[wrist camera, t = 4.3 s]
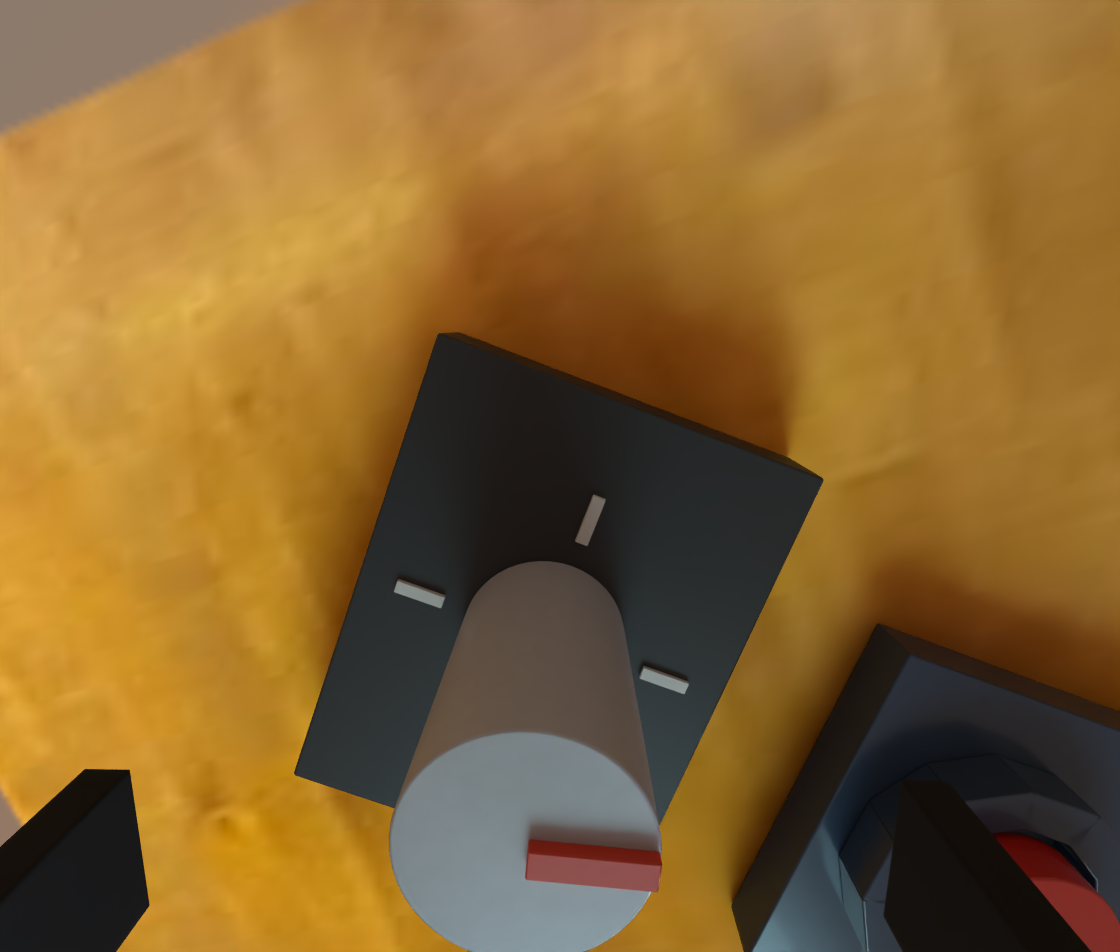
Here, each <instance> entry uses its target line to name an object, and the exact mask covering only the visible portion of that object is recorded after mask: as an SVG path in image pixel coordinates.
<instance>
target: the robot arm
mask: <svg viewBox="0 0 1120 952" xmlns="http://www.w3.org/2000/svg"><path fill="white" fill-rule="evenodd" d="M148 907H149V899H148V892H147V885H146V878H145V871H144V865H143V858H142V851H141V844H140V837H139V830H138V824H137V817H136V810H135V803H134V796H133V789H132V783H131V776H130V770H105V769H85V770H83V771H82V772H81V773H80V774H79V775H78V776H77V777H76V778H75V779H74V780H73V781H71V782H70V783H69V784H68V785H67V786H66V787H65V788H64V789H63V790H62V791H61V792H59V793H58V794H57V795H56V796H55V797H54V798H53V799H52V800H51V801H50V802H49V803H47V804H46V805H45V806H44V807H43V808H42V809H41V810H40V811H39V812H38V813H37V814H36V815H34V816H33V817H32V818H31V819H30V820H29V821H28V822H27V823H26V824H25V825H24V826H22V827H21V828H20V829H19V830H18V831H17V832H16V833H15V834H14V835H13V836H12V837H11V838H10V839H8V840H7V841H6V842H5V843H4V844H3V845H2V846H1V847H0V952H116V951H117V950H118V948H119V947H120V946H121V944H122V943H123V941H124V940H125V939H126V937H127V936H128V935H129V933H130V932H131V930H132V929H133V928H134V926H135V925H136V923H137V922H138V921H139V919H140V918H141V916H142V915H143V914H144V912H145V911H146V910H147V908H148ZM883 916H884V918H885V920H886V922H887V924H888V926H889V928H890V929H891V931H892V933H893V935H894V937H895V939H896V940H897V942H898V944H899V946H900V948H901V950H902V952H1092V951H1091V950H1090V949H1089V948H1088V947H1087V946H1086V944H1085V943H1084V942H1083V941H1082V940H1081V938H1080V937H1079V936H1078V935H1077V934H1076V933H1075V931H1074V930H1073V929H1072V928H1071V927H1070V925H1069V924H1068V923H1067V922H1066V921H1065V920H1064V918H1063V917H1062V916H1061V915H1060V914H1059V912H1058V911H1057V910H1056V909H1055V908H1054V907H1053V905H1052V904H1051V903H1050V902H1049V901H1048V899H1047V898H1046V897H1045V896H1044V895H1043V894H1042V892H1041V891H1040V890H1039V889H1038V888H1037V886H1036V885H1035V884H1034V883H1033V882H1032V881H1031V879H1030V878H1029V877H1028V876H1027V875H1026V873H1025V872H1024V871H1023V870H1022V869H1021V868H1020V866H1019V865H1018V864H1017V863H1016V862H1015V860H1014V859H1013V858H1012V857H1011V856H1010V855H1009V853H1008V852H1007V851H1006V850H1005V849H1004V847H1003V846H1002V845H1001V844H1000V843H999V842H998V840H997V839H996V838H995V837H994V836H993V834H992V833H991V832H990V831H989V830H988V829H987V827H986V826H985V825H984V824H983V823H982V821H981V820H980V819H979V818H978V817H977V815H976V814H975V813H974V812H973V811H972V810H971V808H970V807H969V806H968V805H967V804H966V802H965V801H964V800H963V799H962V798H961V797H960V795H959V794H958V793H957V792H956V791H955V789H954V788H953V787H952V786H951V785H950V784H949V782H948V781H920V780H902V783H901V790H900V798H899V805H898V812H897V820H896V827H895V834H894V841H893V849H892V856H891V863H890V871H889V878H888V885H887V892H886V900H885V907H884V914H883Z"/></svg>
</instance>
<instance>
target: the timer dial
mask: <svg viewBox="0 0 1120 952" xmlns="http://www.w3.org/2000/svg"><path fill="white" fill-rule="evenodd" d="M389 852H390V858H391V863H392V869H393V872H394V874H395V877H396V880H397V883H398V885H399V887H400V889H401V891H402V893H403V895H404V897H405V899H406V900H407V901H408V903H409V904H410V906H411V907H412V909H413V910H414V911H415V912H416V913H417V915H418V916H419V917H420V918H421V919H422V920H423V921H424V922H425V923H426V924H427V925H428V926H430V927H431V928H432V929H433V930H434V931H435V932H437V933H438V934H440V935H441V936H443V937H444V938H446V939H447V940H449V941H450V942H452V943H454V944H456V945H458V946H460V947H462V948H464V949H466V950H468V951H471V952H585V951H587V950H590V949H592V948H595V947H596V946H598V945H600V944H602V943H603V942H605V941H607V940H609V939H610V938H611V937H613V936H614V935H615V934H617V933H618V932H619V931H621V930H622V929H623V928H624V927H625V926H626V925H627V924H628V923H629V922H630V921H631V920H632V919H633V918H634V917H635V916H636V915H637V913H638V912H639V911H640V909H641V908H642V907H643V905H644V904H645V902H646V900H647V898H648V897H649V895H650V893H651V892H658V889H659V882H660V876H661V869H662V861H661V834H660V827H659V821H658V816H657V810H656V805H655V799H654V793H653V788H652V782H651V777H650V771H649V765H648V760H647V754H646V749H645V743H644V737H643V732H642V726H641V721H640V715H639V709H638V704H637V698H636V693H635V687H634V681H633V676H632V670H631V665H630V659H629V653H628V648H627V642H626V637H625V631H624V626H623V621H622V617H621V614H620V612H619V609H618V607H617V605H616V603H615V601H614V599H613V598H612V596H611V595H610V594H609V592H608V591H607V590H606V589H605V588H604V587H603V586H602V585H601V584H600V583H599V582H598V581H597V580H596V579H594V578H593V577H592V576H590V575H589V574H587V573H585V572H584V571H582V570H580V569H577V568H575V567H573V566H570V565H566V564H563V563H557V562H551V561H535V562H527V563H523V564H518V565H515V566H513V567H510V568H507V569H505V570H503V571H502V572H500V573H498V574H497V575H495V576H494V577H492V578H491V579H490V580H488V581H487V582H486V583H485V584H484V585H483V586H482V587H481V588H480V589H479V591H478V592H477V593H476V594H475V596H474V598H473V599H472V601H471V603H470V605H469V607H468V609H467V612H466V614H465V617H464V620H463V623H462V625H461V628H460V631H459V633H458V636H457V639H456V642H455V644H454V647H453V650H452V653H451V655H450V658H449V661H448V663H447V666H446V669H445V672H444V674H443V677H442V680H441V683H440V685H439V688H438V691H437V694H436V696H435V699H434V702H433V704H432V707H431V710H430V713H429V715H428V718H427V721H426V724H425V726H424V729H423V732H422V734H421V737H420V740H419V743H418V745H417V748H416V751H415V754H414V756H413V759H412V762H411V765H410V767H409V770H408V773H407V775H406V778H405V781H404V784H403V786H402V789H401V792H400V795H399V797H398V800H397V803H396V806H395V809H394V812H393V816H392V819H391V825H390V833H389Z"/></svg>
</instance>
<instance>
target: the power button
mask: <svg viewBox="0 0 1120 952" xmlns="http://www.w3.org/2000/svg"><path fill="white" fill-rule="evenodd" d="M993 836H994V837H995V838H996V839H997V840H998V842H999V843H1000V844H1001V845H1002V846H1003V847H1004V849H1005V850H1006V851H1007V852H1008V853H1009V855H1010V856H1011V857H1012V858H1013V859H1014V860H1015V862H1016V863H1017V864H1018V865H1019V866H1020V868H1021V869H1022V870H1023V871H1024V872H1025V873H1026V875H1027V876H1028V877H1029V878H1030V879H1031V881H1032V882H1033V883H1034V884H1035V885H1036V886H1037V888H1038V889H1039V890H1040V891H1041V892H1042V894H1043V895H1044V896H1045V897H1046V898H1047V899H1048V901H1049V902H1050V903H1051V904H1052V905H1053V907H1054V908H1055V909H1056V910H1057V911H1058V912H1059V914H1060V915H1061V916H1062V917H1063V918H1064V920H1065V921H1066V922H1067V923H1068V924H1069V925H1070V927H1071V928H1072V929H1073V930H1074V931H1075V933H1076V934H1077V935H1078V936H1079V937H1080V938H1081V940H1082V941H1083V942H1084V943H1085V944H1086V946H1087V947H1088V948H1089V949H1090V950H1091V951H1092V952H1120V924H1119V921H1118V919H1117V917H1116V914H1115V913H1114V911H1113V910H1112V908H1111V907H1110V905H1109V904H1108V903H1107V902H1106V901H1105V900H1104V898H1103V897H1102V896H1101V895H1100V894H1099V893H1098V892H1097V891H1096V890H1095V889H1094V888H1093V887H1092V886H1091V885H1090V883H1089V882H1088V881H1087V880H1086V879H1085V878H1084V877H1083V876H1082V875H1081V874H1080V873H1079V872H1078V871H1077V870H1076V869H1075V867H1074V866H1073V865H1072V864H1071V863H1070V862H1069V861H1068V860H1067V859H1066V858H1065V857H1064V856H1063V855H1062V854H1061V853H1060V852H1059V851H1058V850H1057V849H1055V848H1054V847H1053V846H1051V845H1049V844H1048V843H1046V842H1044V841H1042V840H1039V839H1037V838H1035V837H1032V836H1028V835H1024V834H1019V833H1013V832H1002V833H994V834H993Z"/></svg>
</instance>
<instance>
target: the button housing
mask: <svg viewBox="0 0 1120 952" xmlns="http://www.w3.org/2000/svg"><path fill="white" fill-rule="evenodd" d="M902 780H920V781H948V782H949V784H950V785H951V786H952V787H953V788H954V789H955V791H956V792H957V793H958V794H959V795H960V797H961V798H962V799H963V800H964V801H965V802H966V804H967V805H968V806H969V807H970V808H971V810H972V811H973V812H974V813H975V814H976V815H977V817H978V818H979V819H980V820H981V821H982V823H983V824H984V825H985V826H986V827H987V829H988V830H989V831H990V832H991V833H992V834H994V833H1002V832H1013V833H1019V834H1024V835H1028V836H1032V837H1035V838H1037V839H1039V840H1042V841H1044V842H1046V843H1048V844H1049V845H1051V846H1053V847H1054V848H1055V849H1057V850H1058V851H1059V852H1060V853H1061V854H1062V855H1063V856H1064V857H1065V858H1066V859H1067V860H1068V861H1069V862H1070V863H1071V864H1072V865H1073V866H1074V867H1075V869H1076V870H1077V871H1078V872H1079V873H1080V874H1081V875H1082V876H1083V877H1084V878H1085V879H1086V880H1087V881H1088V882H1089V883H1090V885H1091V886H1092V887H1093V888H1094V889H1095V890H1096V891H1097V892H1098V893H1099V894H1100V895H1101V896H1102V897H1103V898H1104V900H1105V901H1106V902H1107V903H1108V904H1109V905H1110V907H1111V908H1112V910H1113V911H1114V913H1115V914H1116V917H1117V919H1118V921H1119V924H1120V712H1119V711H1116V710H1113V709H1111V708H1108V707H1105V706H1102V705H1100V704H1097V703H1094V702H1092V701H1089V700H1086V699H1083V698H1081V697H1078V696H1075V695H1072V694H1070V693H1067V692H1064V691H1062V690H1059V689H1056V688H1053V687H1051V686H1048V685H1045V684H1042V683H1040V682H1037V681H1034V680H1032V679H1029V678H1026V677H1023V676H1021V675H1018V674H1015V673H1012V672H1010V671H1007V670H1004V669H1002V668H999V667H996V666H993V665H991V664H988V663H985V662H982V661H980V660H977V659H974V658H972V657H969V656H966V655H963V654H961V653H958V652H955V651H952V650H950V649H947V648H944V647H942V646H939V645H936V644H933V643H931V642H928V641H925V640H922V639H920V638H917V637H914V636H912V635H909V634H906V633H903V632H901V631H898V630H895V629H892V628H890V627H887V626H884V625H882V624H878V625H877V626H876V628H875V630H874V632H873V634H872V635H871V637H870V639H869V641H868V643H867V645H866V647H865V649H864V651H863V653H862V655H861V657H860V659H859V660H858V662H857V664H856V666H855V668H854V670H853V672H852V674H851V676H850V678H849V680H848V682H847V684H846V685H845V687H844V689H843V691H842V693H841V695H840V697H839V699H838V701H837V703H836V705H835V707H834V709H833V711H832V712H831V714H830V716H829V718H828V720H827V722H826V724H825V726H824V728H823V730H822V732H821V734H820V736H819V737H818V739H817V741H816V743H815V745H814V747H813V749H812V751H811V753H810V755H809V757H808V759H807V761H806V762H805V764H804V766H803V768H802V770H801V772H800V774H799V776H798V778H797V780H796V782H795V784H794V786H793V788H792V789H791V791H790V793H789V795H788V797H787V799H786V801H785V803H784V805H783V807H782V809H781V811H780V813H779V814H778V816H777V818H776V820H775V822H774V824H773V826H772V828H771V830H770V832H769V834H768V836H767V838H766V839H765V841H764V843H763V845H762V847H761V849H760V851H759V853H758V855H757V857H756V859H755V861H754V863H753V865H752V866H751V868H750V870H749V872H748V874H747V876H746V878H745V880H744V882H743V884H742V886H741V888H740V890H739V891H738V893H737V895H736V897H735V899H734V901H733V903H732V911H733V915H734V918H735V922H736V925H737V929H738V932H739V936H740V940H741V943H742V947H743V950H744V952H902V950H901V948H900V946H899V944H898V942H897V940H896V939H895V937H894V935H893V933H892V931H891V929H890V928H889V926H888V924H887V922H886V920H885V918H884V916H883V914H884V907H885V900H886V892H887V885H888V878H889V871H890V863H891V856H892V849H893V841H894V834H895V827H896V820H897V812H898V805H899V798H900V790H901V783H902Z"/></svg>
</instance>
